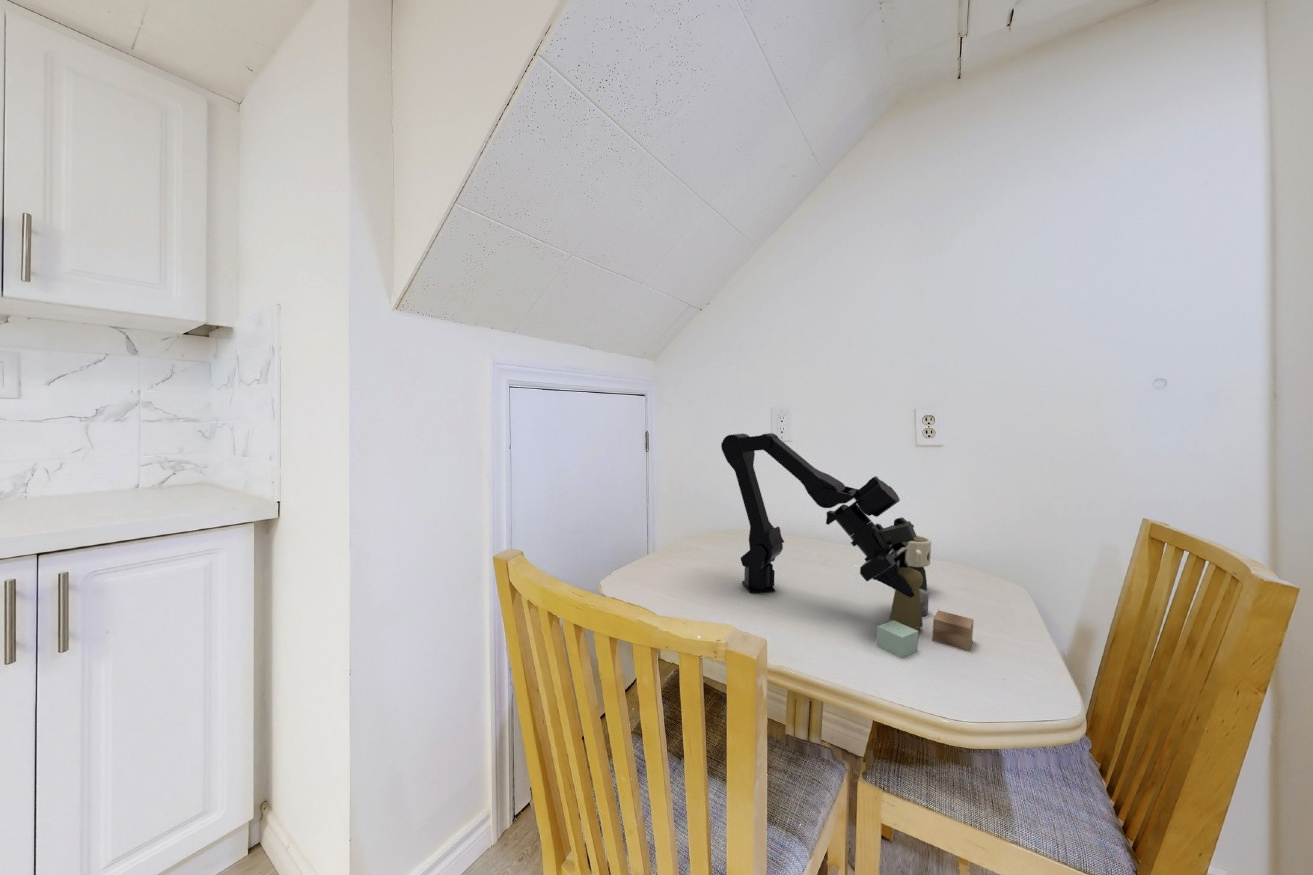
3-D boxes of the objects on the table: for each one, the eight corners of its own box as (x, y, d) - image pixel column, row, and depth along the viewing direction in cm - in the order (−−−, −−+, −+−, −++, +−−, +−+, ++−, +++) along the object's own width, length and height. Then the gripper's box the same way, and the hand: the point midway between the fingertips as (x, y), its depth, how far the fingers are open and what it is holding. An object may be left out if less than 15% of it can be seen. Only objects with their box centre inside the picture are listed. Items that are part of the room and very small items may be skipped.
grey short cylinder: (912, 616, 100) (913, 596, 100) (897, 606, 105) (898, 587, 105) (933, 615, 101) (934, 595, 101) (917, 605, 106) (918, 586, 106)
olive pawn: (927, 629, 92) (930, 576, 91) (894, 626, 93) (897, 573, 92) (916, 615, 98) (919, 565, 97) (885, 613, 99) (888, 563, 98)
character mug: (934, 599, 109) (937, 546, 108) (901, 596, 111) (903, 543, 110) (922, 582, 119) (924, 533, 118) (892, 579, 121) (894, 531, 120)
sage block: (901, 658, 84) (902, 637, 84) (876, 646, 88) (877, 626, 88) (917, 651, 87) (918, 630, 86) (892, 639, 91) (893, 620, 91)
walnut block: (932, 640, 90) (933, 618, 90) (936, 631, 94) (937, 610, 94) (968, 651, 86) (970, 628, 86) (972, 641, 90) (973, 619, 90)
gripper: (881, 515, 88) (944, 586, 83) (899, 499, 103) (954, 558, 97) (836, 547, 94) (893, 615, 88) (860, 527, 109) (910, 585, 103)
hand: (915, 591), depth 94 cm, fingers closed on olive pawn, 5 cm apart
